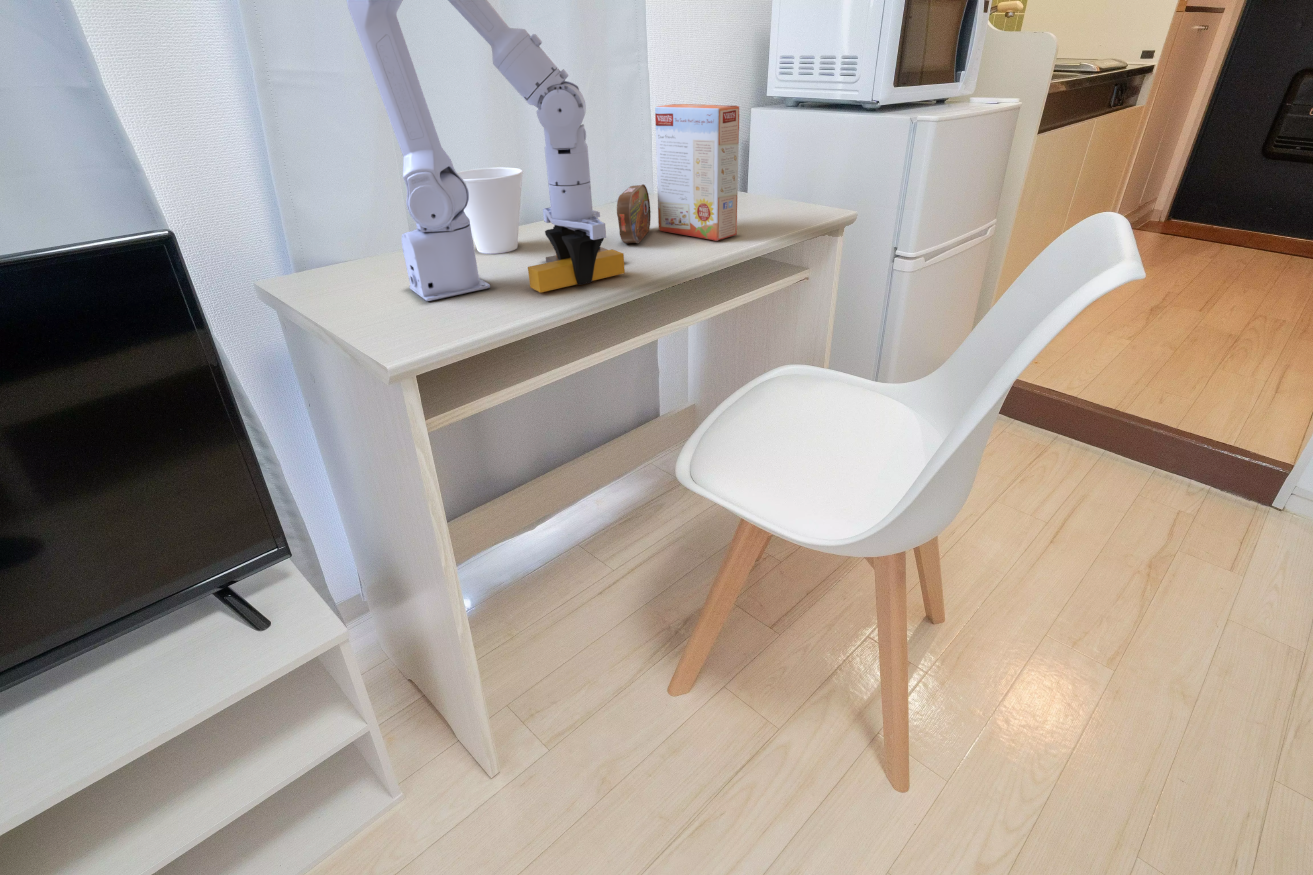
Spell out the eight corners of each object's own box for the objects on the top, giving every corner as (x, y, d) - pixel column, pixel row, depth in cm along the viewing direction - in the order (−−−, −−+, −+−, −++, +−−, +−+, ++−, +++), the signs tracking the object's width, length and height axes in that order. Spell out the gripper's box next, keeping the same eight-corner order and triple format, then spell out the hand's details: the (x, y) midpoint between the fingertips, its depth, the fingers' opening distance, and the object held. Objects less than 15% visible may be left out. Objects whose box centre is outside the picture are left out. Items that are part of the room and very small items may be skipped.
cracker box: (738, 235, 122) (741, 104, 112) (716, 242, 119) (718, 107, 108) (679, 225, 131) (677, 102, 121) (657, 231, 127) (653, 105, 117)
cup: (483, 238, 127) (472, 166, 121) (543, 241, 124) (534, 167, 118) (449, 256, 117) (435, 178, 111) (513, 259, 114) (502, 179, 108)
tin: (634, 249, 117) (631, 197, 113) (616, 248, 118) (613, 197, 113) (652, 228, 130) (650, 180, 126) (636, 227, 130) (634, 180, 126)
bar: (540, 293, 97) (537, 271, 95) (530, 287, 99) (527, 266, 97) (625, 273, 103) (623, 253, 102) (613, 268, 106) (612, 249, 104)
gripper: (622, 185, 91) (628, 286, 98) (569, 172, 101) (578, 264, 108) (575, 192, 88) (584, 296, 94) (525, 178, 98) (537, 273, 105)
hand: (578, 280), depth 101 cm, fingers closed on bar, 3 cm apart
